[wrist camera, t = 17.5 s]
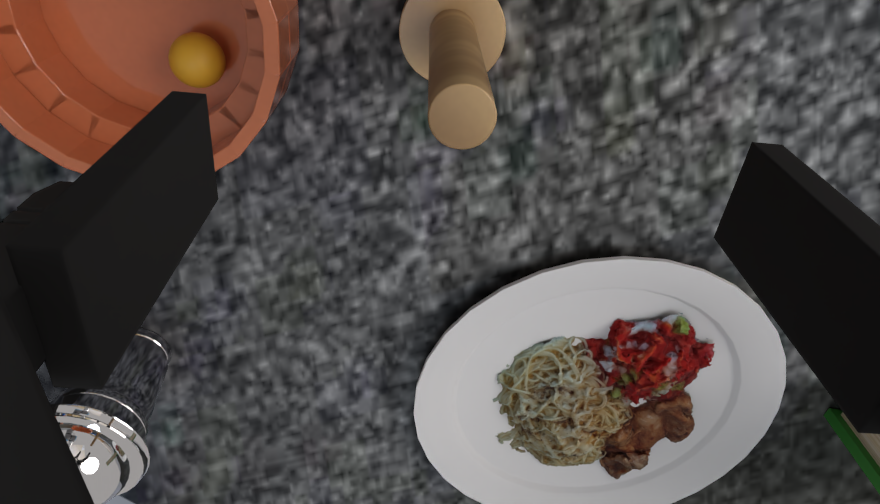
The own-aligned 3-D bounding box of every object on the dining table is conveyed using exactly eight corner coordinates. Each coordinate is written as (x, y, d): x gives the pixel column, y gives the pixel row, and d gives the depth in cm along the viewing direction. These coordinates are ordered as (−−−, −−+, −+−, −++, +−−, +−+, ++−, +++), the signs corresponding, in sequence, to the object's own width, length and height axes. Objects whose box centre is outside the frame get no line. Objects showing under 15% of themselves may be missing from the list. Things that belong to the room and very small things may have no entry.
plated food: (389, 486, 58) (387, 518, 55) (454, 213, 42) (456, 238, 39) (685, 520, 61) (697, 552, 59) (848, 279, 46) (876, 307, 43)
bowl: (-46, -187, 30) (-143, -197, 25) (297, -148, 31) (270, -150, 26) (40, 133, 39) (-19, 173, 34) (304, 155, 40) (285, 198, 35)
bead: (200, 32, 36) (156, 26, 33) (238, 38, 35) (196, 33, 32) (198, 84, 37) (155, 82, 34) (235, 92, 36) (194, 91, 33)
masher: (449, -54, 33) (459, -3, 21) (524, 23, 36) (575, 112, 23) (378, 30, 36) (349, 122, 23) (454, 98, 38) (464, 216, 25)
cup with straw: (161, 403, 52) (30, 665, 35) (59, 347, 48) (-141, 606, 31) (218, 348, 49) (104, 607, 32) (114, 283, 45) (-76, 535, 28)
